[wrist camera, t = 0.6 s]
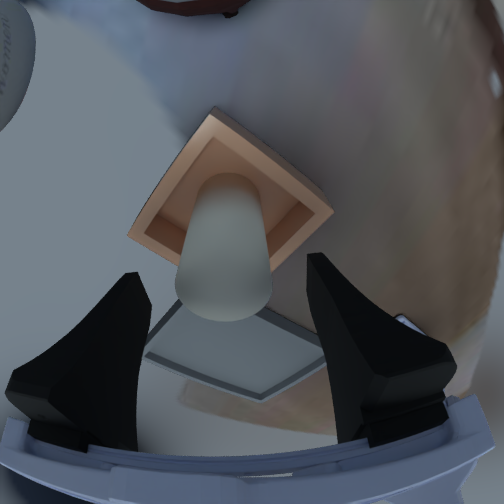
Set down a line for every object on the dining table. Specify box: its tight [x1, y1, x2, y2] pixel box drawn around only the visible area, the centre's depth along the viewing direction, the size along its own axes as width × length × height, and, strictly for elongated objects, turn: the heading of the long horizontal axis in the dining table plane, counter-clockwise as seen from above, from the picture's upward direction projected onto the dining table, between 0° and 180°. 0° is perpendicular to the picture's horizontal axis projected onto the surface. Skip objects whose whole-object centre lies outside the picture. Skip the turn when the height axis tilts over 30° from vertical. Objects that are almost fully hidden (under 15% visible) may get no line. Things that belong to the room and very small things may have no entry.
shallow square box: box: [127, 106, 335, 272], centre depth 18 cm, size 9×9×3 cm
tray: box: [142, 299, 327, 403], centre depth 27 cm, size 16×12×2 cm
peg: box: [175, 173, 273, 322], centre depth 15 cm, size 4×4×8 cm
